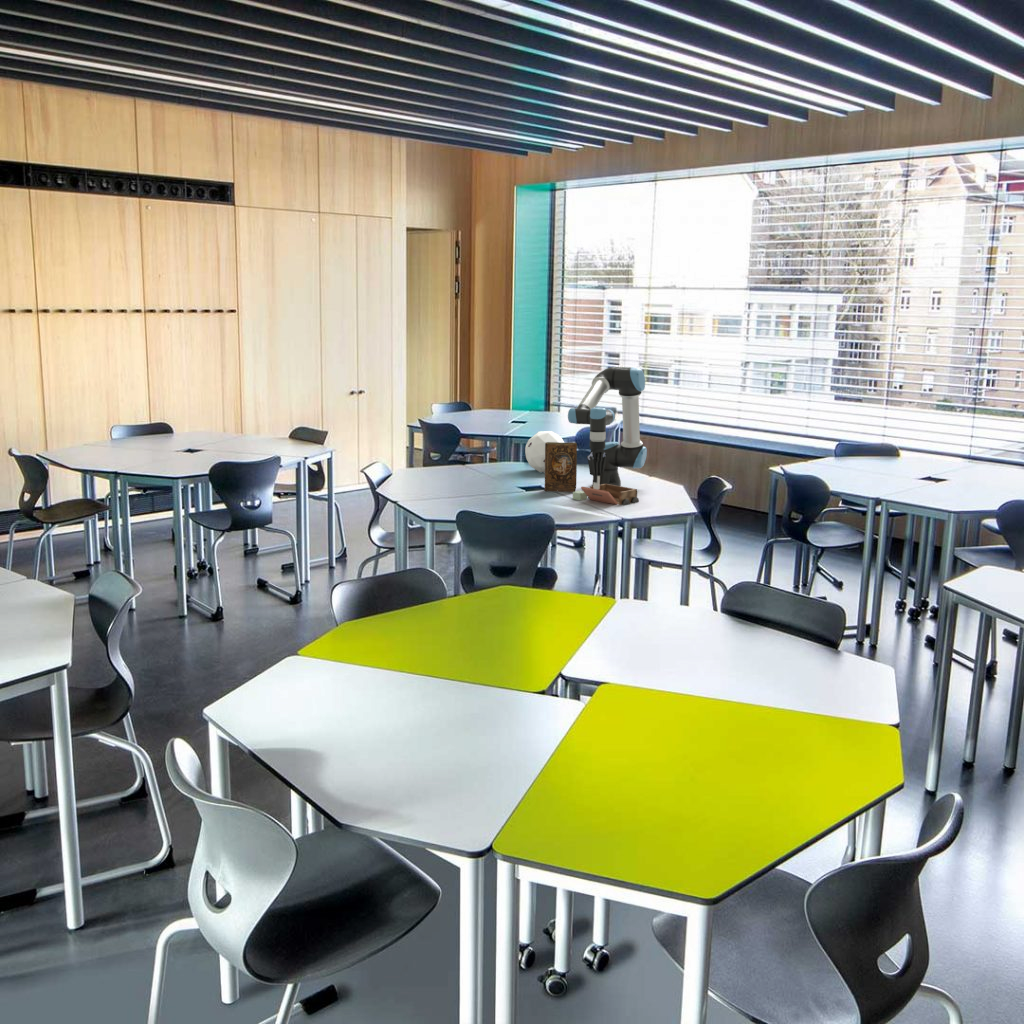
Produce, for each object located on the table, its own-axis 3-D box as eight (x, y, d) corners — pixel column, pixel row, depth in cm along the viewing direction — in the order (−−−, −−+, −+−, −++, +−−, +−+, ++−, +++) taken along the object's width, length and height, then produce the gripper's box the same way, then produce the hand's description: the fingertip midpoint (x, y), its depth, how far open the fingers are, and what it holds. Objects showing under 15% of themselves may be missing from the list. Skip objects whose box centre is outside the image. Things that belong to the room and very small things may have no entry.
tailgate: (591, 497, 487) (581, 486, 481) (618, 503, 475) (608, 491, 469) (590, 500, 487) (580, 488, 480) (616, 505, 475) (607, 493, 468)
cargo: (579, 500, 492) (579, 490, 491) (587, 502, 488) (587, 492, 487) (572, 501, 488) (572, 492, 487) (580, 503, 485) (580, 493, 484)
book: (544, 491, 513) (544, 443, 508) (544, 489, 518) (545, 442, 513) (575, 492, 511) (576, 444, 506) (576, 490, 517) (577, 442, 511)
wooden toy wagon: (603, 497, 498) (603, 483, 497) (639, 504, 482) (639, 489, 480) (587, 501, 490) (587, 486, 488) (623, 508, 474) (624, 492, 472)
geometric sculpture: (543, 466, 588) (568, 434, 581) (555, 488, 568) (581, 455, 561) (511, 448, 576) (536, 415, 568) (522, 469, 556) (548, 436, 548)
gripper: (600, 438, 477) (599, 486, 482) (582, 440, 468) (581, 489, 474) (612, 439, 472) (611, 488, 477) (594, 442, 463) (593, 491, 468)
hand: (596, 488), depth 475 cm, fingers closed
